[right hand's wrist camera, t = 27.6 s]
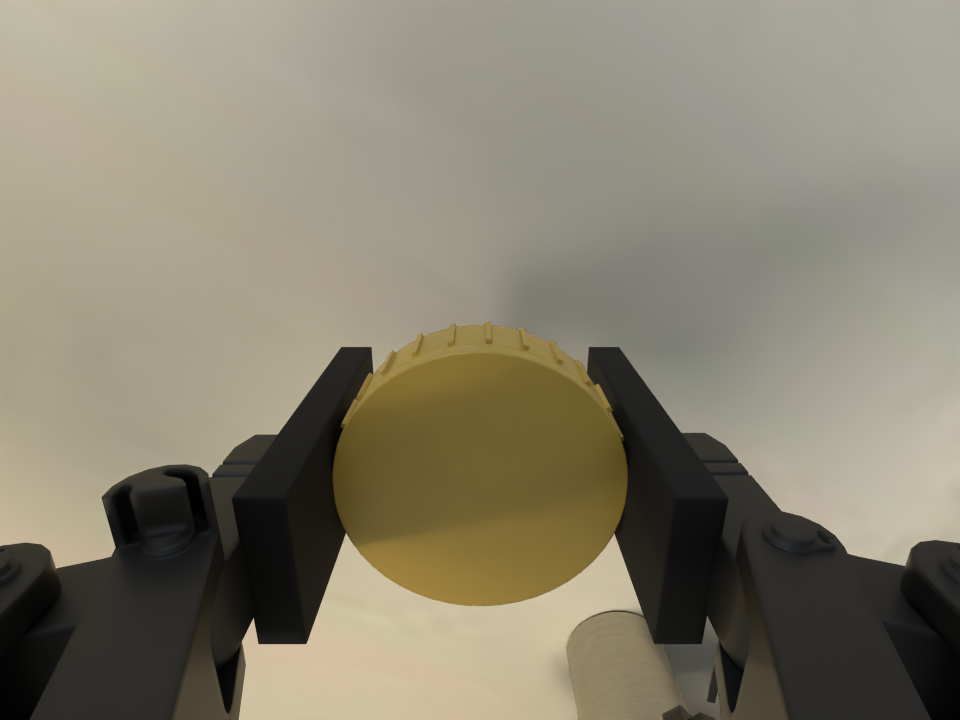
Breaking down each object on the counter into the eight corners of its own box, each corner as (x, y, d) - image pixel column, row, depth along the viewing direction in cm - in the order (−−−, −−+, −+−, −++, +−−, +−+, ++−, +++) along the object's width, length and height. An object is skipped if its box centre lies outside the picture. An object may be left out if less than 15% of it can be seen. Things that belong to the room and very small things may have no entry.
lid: (657, 484, 12) (683, 531, 11) (441, 591, 13) (435, 648, 12) (529, 266, 10) (538, 285, 9) (293, 408, 11) (264, 447, 10)
